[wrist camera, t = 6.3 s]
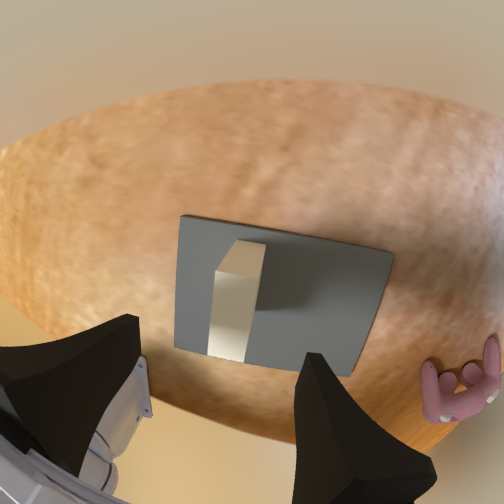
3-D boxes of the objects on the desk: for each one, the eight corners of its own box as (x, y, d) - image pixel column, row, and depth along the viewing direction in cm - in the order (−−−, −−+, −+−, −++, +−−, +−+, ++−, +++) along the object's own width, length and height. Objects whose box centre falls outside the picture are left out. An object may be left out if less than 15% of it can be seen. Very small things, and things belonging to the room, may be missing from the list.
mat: (348, 372, 21) (349, 376, 21) (176, 343, 22) (174, 347, 22) (391, 252, 18) (394, 254, 18) (183, 215, 19) (180, 216, 18)
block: (254, 310, 20) (243, 362, 14) (227, 305, 20) (207, 355, 14) (266, 244, 18) (258, 278, 13) (236, 239, 19) (215, 270, 13)
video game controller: (409, 376, 23) (421, 437, 18) (421, 358, 20) (438, 428, 15) (480, 351, 21) (496, 404, 16) (497, 330, 18) (518, 388, 13)
